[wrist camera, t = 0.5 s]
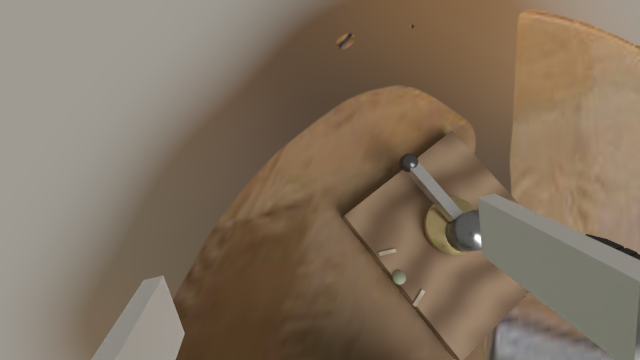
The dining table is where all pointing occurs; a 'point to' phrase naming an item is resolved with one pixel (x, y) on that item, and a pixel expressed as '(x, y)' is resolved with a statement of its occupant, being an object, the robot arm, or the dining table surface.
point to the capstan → (445, 214)
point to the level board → (430, 264)
